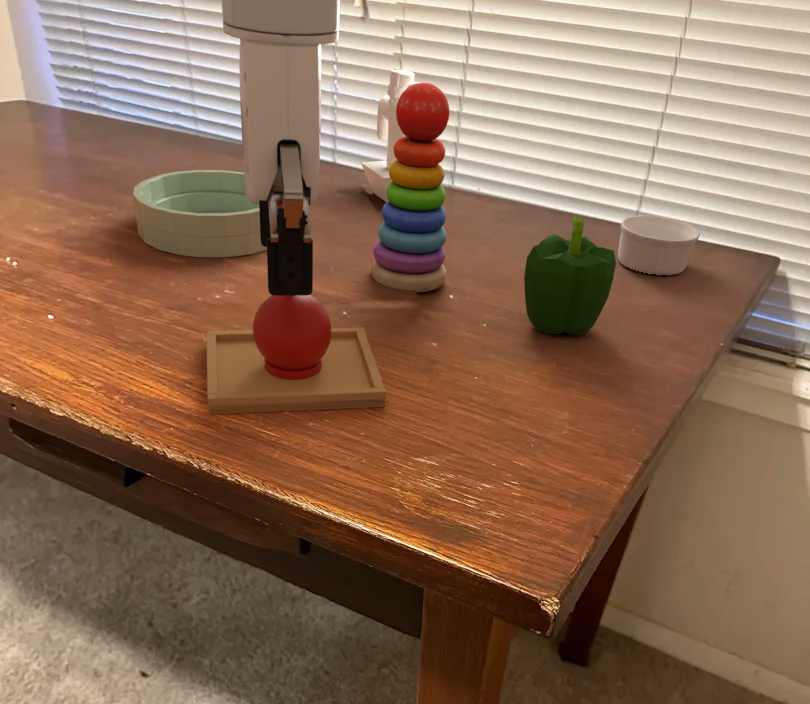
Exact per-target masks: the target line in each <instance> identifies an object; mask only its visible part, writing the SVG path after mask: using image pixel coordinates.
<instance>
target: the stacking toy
mask: <svg viewBox="0 0 810 704" xmlns="http://www.w3.org/2000/svg"><path fill="white" fill-rule="evenodd" d="M396 118H397V123H398V125H399V127H400V129H401V131H402V132H403V134H404V135H405V137H402V138H400V139H398V140H397V141H396V143H395V145H394V155H395V157H396V159H397V160H396V161H394V162H393V163H392V164H391V165H390V167H389V176H390V178H391V180H392V181H391V182H390V183H389V184H388V186H387V188H386V196H387V199H388V202H385V203H384V204H383V207H382V211H381V216H382V219H383V222H382V223H381V225H379V228H378V237H379V240H378V241H376V243H375V244H374V248H373V256H374V259H375V260H374V261H373V263H372V264H371V269H370V273H371V276H372V278H373V279H374V281H375V282H377V283H378V284H380V285H383V286H385V287H387V288H389V289H390V288H391V289H395V290H400V291H408V292H409V291H411V292H414V291H415V293H416V294H417V293H426V292H431V291H435V290H437V289H438V288H440V287H441V286H442V285H443V284H444V283H445V281H446V280H447V269H446V267H445V265H444V263H445V260H446V250H445V248H444V245H445V243H446V240H447V232H446V229H445V227H444V224H445V222H446V219H447V215H446V211H445V209H444V207H443V205H444V203H445V201H446V196H447V195H446V190H445V188H444V187H443V185H442V183H443V182H444V179H445V170H444V168H443V166H442V165H440V163H442V162H443V161H444V158H445V156H446V148H445V145H444V143H443V142H442V141H440V140H438V138H439V137H440V136H441V135H442V134H443V133H444V131H445V130H446V128H447V126H448V123H449V119H450V105H449V101H448V98H447V96H446V95H445V93H444V92H443V91H442V90H441V89H440V87H437V86H436V85H434V84H433V83H430V82H429V83H428V82H420V83H416V84H413V85H411V86H410V87H408V88H407V89H406V90H405V91H404V92H403V93H402V94H401V96H400V98H399V100H398V103H397V107H396Z"/></svg>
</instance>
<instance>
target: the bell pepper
mask: <svg viewBox="0 0 810 704" xmlns="http://www.w3.org/2000/svg"><path fill="white" fill-rule="evenodd" d="M571 223H572V228H571V236H570V239H567V238H564V237H561V236H560V235H558V234H555V233H551V234H550V235H548V236H547V237H545V238H544V239H542V240H541V241H540V242H539V244H537V245H533V247H532V248H531V250H530V251H529V252H528V255H527V256H526V261H525V269H524V275H523V282H524V299H525V308H526V309H525V310H526V315H527V317H528V319H529V321H530V323H531V324H532V325H533V327H534V328H535V329H536V330H538V331H541V332H544V333H546V334H551V335H552V334H553V335H559V334H562V333H566V334H569V335H576V336H577V335H578V336H582V335H584V334H586V333H588V332H589V331H590V330H591V329H592V328H593V327H594V326H595V324H596V322H597V320H598V319H599V317H600V316H601V313H602V311H603V309H604V307H605V305H606V303H607V301H608V298H609V296H610V292H611V289H612V285H613V280H614V276H615V271H616V266H617V261H616V260H617V259H616V255H615V250H613V249H609V248H606V247H604V246H603V247H602V246H597V245H596V244H595V243H594V242H593V241H592V240H590V239H589V238H588V237H587V236H583V233H584V226H585V225H584V218H583V217H582V216H574V217H573V218H572V220H571Z"/></svg>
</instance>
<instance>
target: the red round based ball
mask: <svg viewBox="0 0 810 704" xmlns="http://www.w3.org/2000/svg"><path fill="white" fill-rule="evenodd" d="M331 328H332V323H331V319H330V317H329V314H328V312H327V310H326V309H325V307H324V305H322V303H321V302H320V301H318V299H317V298H315V297H313V296H312V295H311V294H310V295H294V296H274V295H269V296H268V297H267V298H266V299H264V301H263V302H262V303H261V304H260V305H259V307H258V309H257V310H256V313H255V315H254V319H253V324H252V330H253V336H254V340H255V344H256V346H257V348H258V350H259V351H260V353H261V354H262V356H263V357H264V358H265V359H264V362H265V369H266V370H267V372H268V373H270V374H271V375H273V376H275V377H278V378H282V379H290V380H298V379H305V378H309V377H312V376H314V375H316V374H318V373H319V372H320V370H321V368H322V357H323V356H324V355H325V353H326V351H327V350H328V347H329V345H330V341H331V334H332V330H331Z"/></svg>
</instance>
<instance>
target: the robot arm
mask: <svg viewBox="0 0 810 704" xmlns="http://www.w3.org/2000/svg"><path fill="white" fill-rule="evenodd" d="M221 11H222V32H223V33H224V34H226V35H229V37H232V38H236V39H239V98H240V99H239V103H240V122H241V123H240V124H241V125H240V126H241V141H242V142H241V145H242V147H241V148H242V168H243V169H242V170H243V171H242V172H244V181H245V188H246V194H247V198H248V200H249V201H250V202H251V203H252V204H254V205H257V200H259V212H260V240H261V244H262V245H263V246H264V247H267V250H266V262H267V266H266V267H267V290H268V293H269V294H270V296H272V295H274V296H294V295H310V296H311V294H312V293H313V288H314V287H313V285H314V284H313V283H314V282H313V281H314V280H313V279H314V277H313V275H314V274H313V273H314V272H313V271H314V240H313V238H312V230H311V216H310V206H312V205H313V204H315V202H316V201H317V200H318V195H319V186H320V185H319V183H320V182H319V181H320V165H321V164H320V161H321V134H322V133H321V129H322V128H321V127H322V125H321V124H322V45H329V44H333V43H336V42H337V41H338V42H339V34H340V33H339V31H340V0H221Z"/></svg>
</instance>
